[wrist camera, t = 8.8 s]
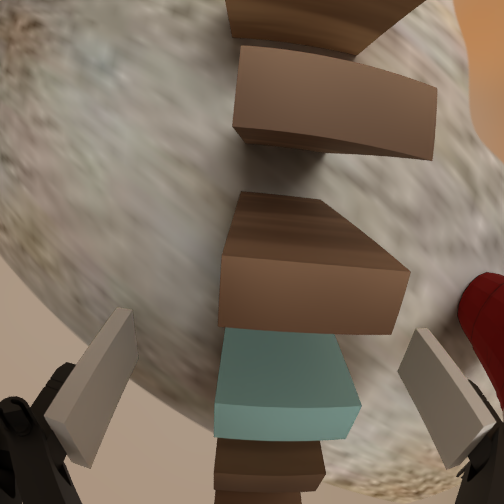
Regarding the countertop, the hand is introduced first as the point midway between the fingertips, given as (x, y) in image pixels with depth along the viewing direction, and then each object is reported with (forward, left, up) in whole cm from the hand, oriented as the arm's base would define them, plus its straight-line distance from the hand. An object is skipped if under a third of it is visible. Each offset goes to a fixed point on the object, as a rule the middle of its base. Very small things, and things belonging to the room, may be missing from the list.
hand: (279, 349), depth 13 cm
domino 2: (-4, +2, -8) cm, 9 cm away
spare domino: (0, 0, -8) cm, 8 cm away
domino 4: (+5, -2, -8) cm, 10 cm away
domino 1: (-9, +3, -8) cm, 13 cm away
